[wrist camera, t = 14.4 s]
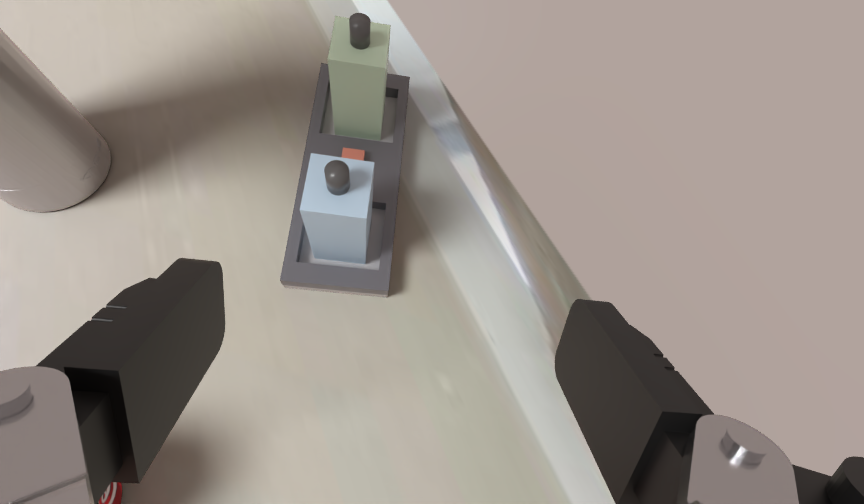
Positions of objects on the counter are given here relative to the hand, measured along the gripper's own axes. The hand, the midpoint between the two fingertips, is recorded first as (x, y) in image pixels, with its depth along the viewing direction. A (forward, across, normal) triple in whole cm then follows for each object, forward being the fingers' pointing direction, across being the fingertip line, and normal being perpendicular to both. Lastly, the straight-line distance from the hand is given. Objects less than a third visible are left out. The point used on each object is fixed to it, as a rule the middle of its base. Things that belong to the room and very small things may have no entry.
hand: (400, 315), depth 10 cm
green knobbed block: (+38, +4, +2) cm, 38 cm away
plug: (+29, +4, +11) cm, 31 cm away
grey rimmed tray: (+34, +4, +7) cm, 35 cm away
